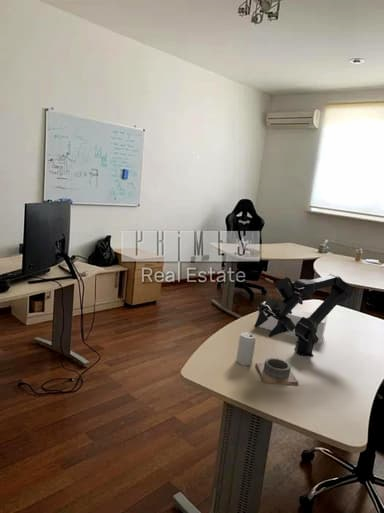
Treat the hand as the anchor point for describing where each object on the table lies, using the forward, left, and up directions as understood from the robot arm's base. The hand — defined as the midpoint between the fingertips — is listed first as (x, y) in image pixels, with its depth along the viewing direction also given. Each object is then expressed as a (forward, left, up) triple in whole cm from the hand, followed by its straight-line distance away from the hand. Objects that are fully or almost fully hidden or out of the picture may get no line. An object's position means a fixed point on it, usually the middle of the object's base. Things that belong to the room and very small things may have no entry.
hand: (261, 331), depth 155 cm
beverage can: (+6, +3, -13) cm, 15 cm away
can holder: (-5, +11, -13) cm, 17 cm away
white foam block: (-25, -34, -13) cm, 44 cm away
